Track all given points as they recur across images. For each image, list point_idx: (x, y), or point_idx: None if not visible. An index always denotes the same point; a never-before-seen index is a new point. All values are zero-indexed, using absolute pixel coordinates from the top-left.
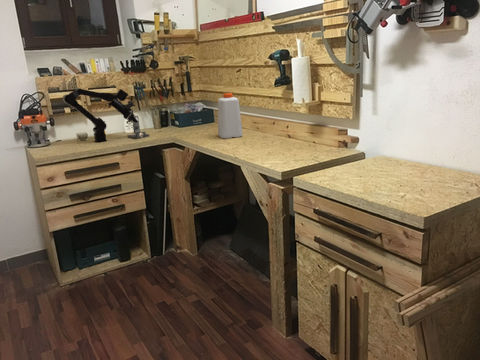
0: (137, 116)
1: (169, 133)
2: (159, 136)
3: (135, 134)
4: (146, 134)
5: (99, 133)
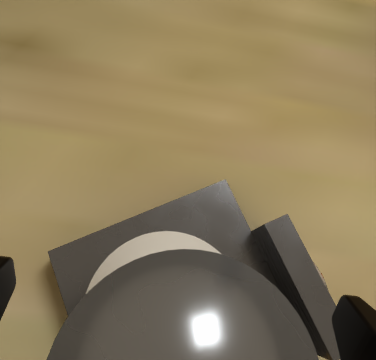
0: (275, 288)
1: (183, 7)
2: (282, 104)
3: (325, 357)
4: (228, 207)
5: None
